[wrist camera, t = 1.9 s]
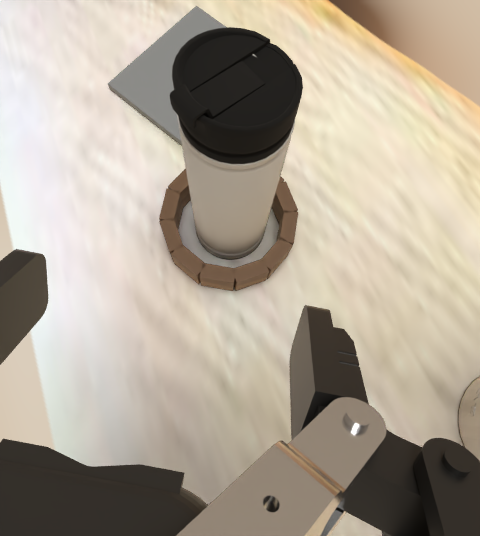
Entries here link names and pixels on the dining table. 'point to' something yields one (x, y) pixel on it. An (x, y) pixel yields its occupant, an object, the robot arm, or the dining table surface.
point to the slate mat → (160, 72)
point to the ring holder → (222, 275)
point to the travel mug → (233, 132)
